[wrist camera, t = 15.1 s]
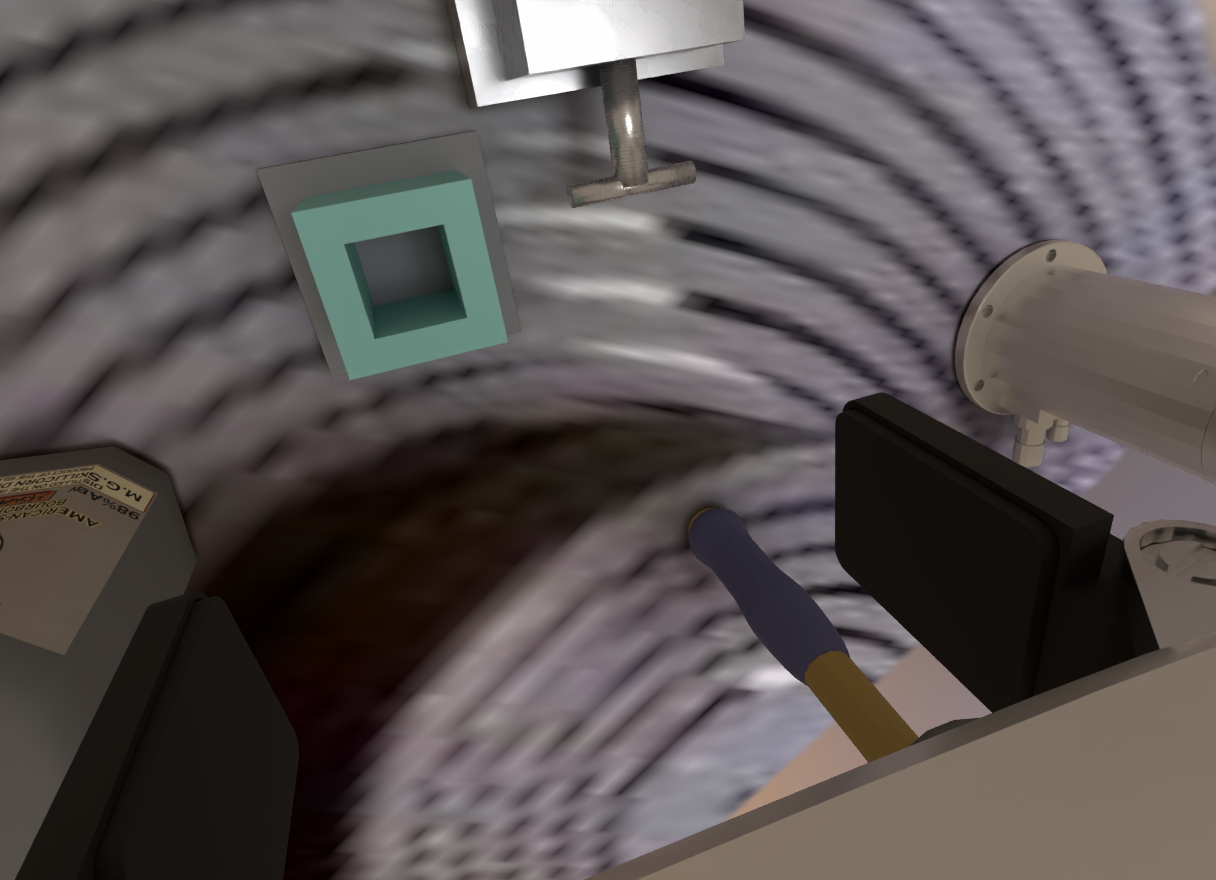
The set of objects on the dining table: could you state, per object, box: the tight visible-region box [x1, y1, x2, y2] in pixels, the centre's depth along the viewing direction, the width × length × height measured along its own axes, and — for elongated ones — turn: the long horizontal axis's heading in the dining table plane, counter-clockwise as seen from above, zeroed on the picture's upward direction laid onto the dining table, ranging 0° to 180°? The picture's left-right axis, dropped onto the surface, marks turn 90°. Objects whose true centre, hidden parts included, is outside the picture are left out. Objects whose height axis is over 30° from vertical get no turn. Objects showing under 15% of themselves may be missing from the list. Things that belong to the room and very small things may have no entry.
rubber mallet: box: [688, 508, 979, 763], centre depth 35 cm, size 12×8×30 cm, turn 21°
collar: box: [291, 170, 508, 380], centre depth 31 cm, size 7×7×6 cm
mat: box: [257, 131, 521, 376], centre depth 34 cm, size 10×10×1 cm
